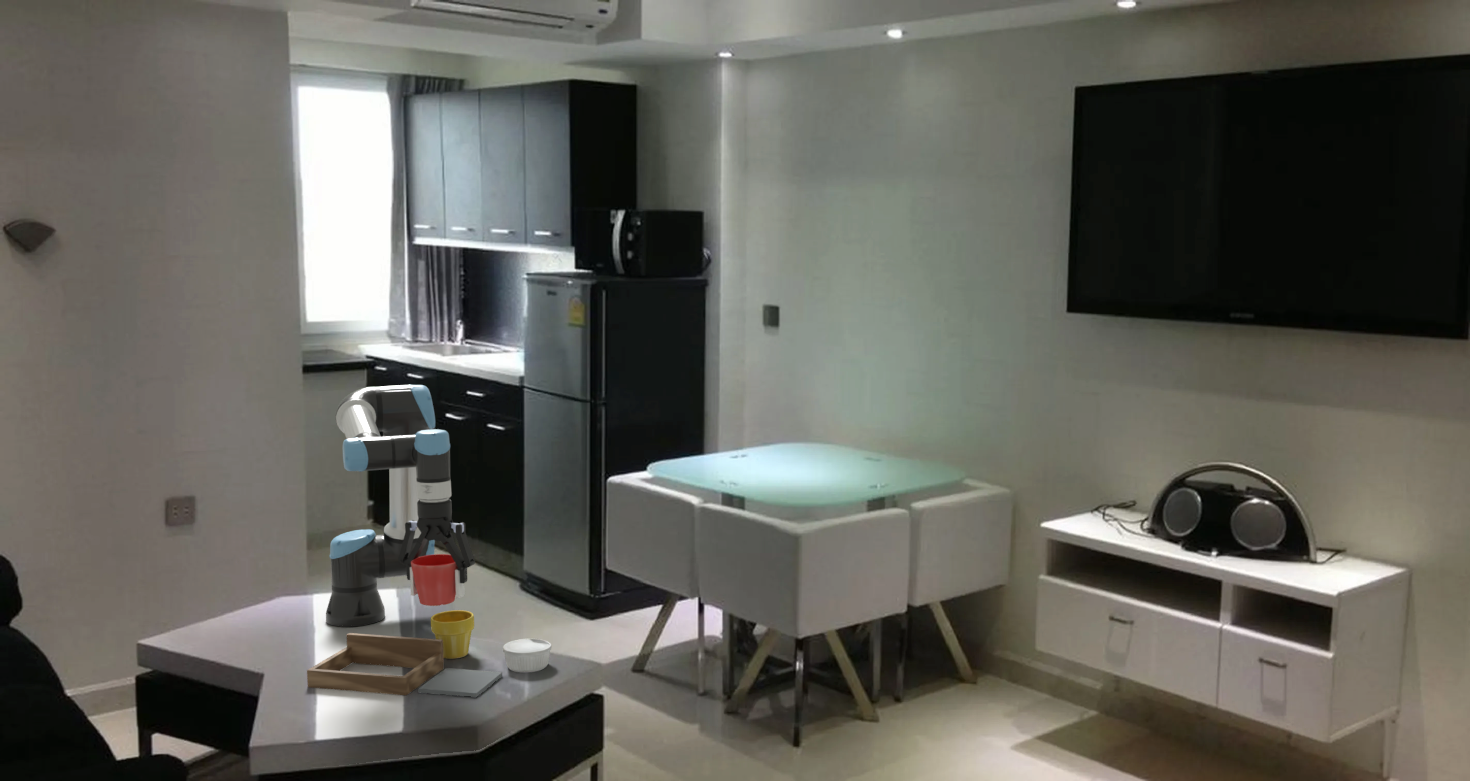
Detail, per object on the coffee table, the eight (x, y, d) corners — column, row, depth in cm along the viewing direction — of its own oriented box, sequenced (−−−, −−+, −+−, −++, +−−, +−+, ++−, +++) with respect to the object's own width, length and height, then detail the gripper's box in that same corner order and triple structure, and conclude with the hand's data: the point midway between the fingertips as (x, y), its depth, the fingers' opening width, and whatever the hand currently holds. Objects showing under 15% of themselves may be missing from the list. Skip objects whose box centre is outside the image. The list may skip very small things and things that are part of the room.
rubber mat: (446, 671, 295) (446, 667, 295) (502, 676, 292) (502, 672, 292) (418, 692, 282) (418, 688, 282) (476, 697, 278) (476, 692, 278)
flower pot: (449, 609, 279) (448, 566, 278) (404, 606, 281) (402, 563, 280) (469, 596, 289) (468, 554, 288) (425, 594, 292) (424, 552, 291)
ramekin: (561, 663, 301) (560, 642, 301) (531, 677, 292) (531, 655, 291) (524, 656, 307) (523, 635, 306) (494, 669, 297) (493, 648, 296)
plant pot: (422, 658, 305) (421, 618, 304) (449, 645, 315) (448, 607, 313) (457, 663, 301) (456, 624, 300) (483, 651, 310) (482, 612, 309)
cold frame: (350, 661, 303) (349, 632, 303) (443, 668, 298) (442, 639, 297) (307, 687, 286) (306, 657, 285) (406, 695, 280) (405, 664, 279)
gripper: (379, 500, 282) (383, 596, 284) (473, 504, 276) (476, 602, 279) (396, 493, 289) (399, 588, 292) (488, 497, 284) (491, 593, 286)
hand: (437, 595), depth 285 cm, fingers closed on flower pot, 10 cm apart
